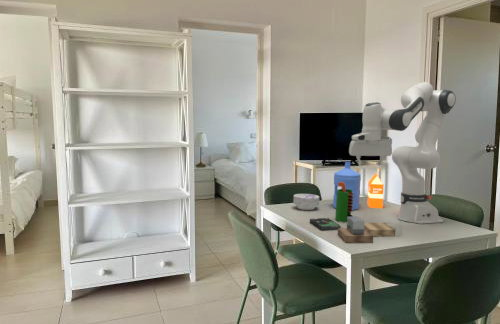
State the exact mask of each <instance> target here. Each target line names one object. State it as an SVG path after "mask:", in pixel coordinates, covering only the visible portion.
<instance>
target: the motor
mask: <svg viewBox="0 0 500 324" xmlns="http://www.w3.org/2000/svg"><path fill="white" fill-rule="evenodd" d="M338 187H340V188H339V189H338V188H337V197H336V208H335V218H334V219H335V220H336V221H338V222H342V223H347V217H354V216H353V215H352V214H351V213H352V212H353V210H352V208H353V206H351V205H353V203H351V202H353V200H352V199H353V193H352V190H350V189H346V188H345V184H344V183H343V182H339V183H338ZM341 187H342V188H343V189H341Z"/></svg>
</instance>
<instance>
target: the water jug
mask: <svg viewBox="0 0 500 324" xmlns="http://www.w3.org/2000/svg"><path fill="white" fill-rule="evenodd" d="M361 179H362V177H361V173H359V172H357V171H356V170H354V169H351V161H345V163H344V168H342V169H340V170H338V171H336V172H334V176H333V185H334V191H333V193H334V194H333V197H332V198H333V200H332V201H333V202H332V206H333V208H335V209H336V197H337V190H338V183H339V182H343V183H344V184H345V188H346V189H350V190H352V193H353V199H352V200H353V202H351V203H353V205H351V206H353V208H352V211H356V210H359V208H360V206H361V205H360V200H361V199H360V197H361ZM340 189H343V188H342V187H341V186H340Z"/></svg>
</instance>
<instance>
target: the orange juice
mask: <svg viewBox="0 0 500 324" xmlns="http://www.w3.org/2000/svg"><path fill="white" fill-rule="evenodd" d="M367 186H368V187H367V203H366V204H367V207H369V208H370V209H372V208H373V209H383V206H384V203H383V202H384V183H383V182H382V180H381V178H380V177H379V176H378V174H377V173H374V174H373V175H372V177H371V178H370V179H369V180H368V184H367Z"/></svg>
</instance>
